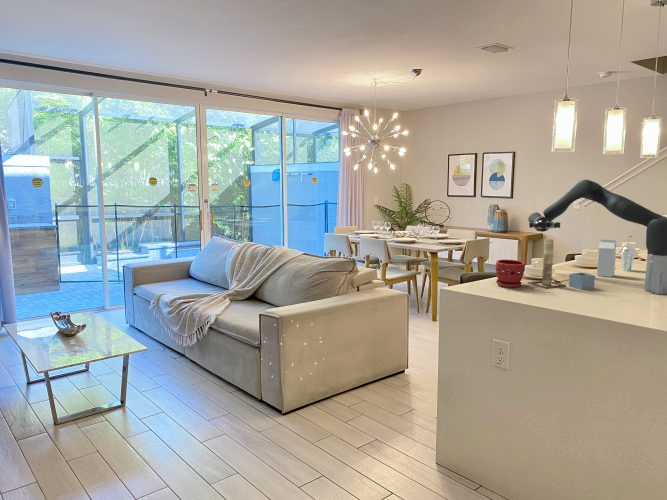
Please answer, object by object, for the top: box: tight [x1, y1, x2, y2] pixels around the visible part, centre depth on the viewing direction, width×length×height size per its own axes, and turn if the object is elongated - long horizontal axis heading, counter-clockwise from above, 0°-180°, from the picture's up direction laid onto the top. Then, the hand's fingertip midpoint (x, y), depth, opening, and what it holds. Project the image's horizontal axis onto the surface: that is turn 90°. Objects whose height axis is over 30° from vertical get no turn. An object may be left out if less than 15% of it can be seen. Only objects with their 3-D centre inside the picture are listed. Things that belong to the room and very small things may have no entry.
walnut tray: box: [527, 280, 567, 290], centre depth 235 cm, size 12×12×2 cm
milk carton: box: [596, 239, 617, 278], centre depth 260 cm, size 7×7×19 cm
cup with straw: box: [618, 235, 637, 272], centre depth 274 cm, size 8×9×20 cm
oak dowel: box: [541, 238, 554, 287], centre depth 234 cm, size 4×4×22 cm
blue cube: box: [568, 272, 596, 291], centre depth 229 cm, size 7×7×7 cm
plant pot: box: [495, 259, 526, 289], centre depth 237 cm, size 13×13×12 cm
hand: (546, 226), depth 242 cm, fingers open, 8 cm apart
